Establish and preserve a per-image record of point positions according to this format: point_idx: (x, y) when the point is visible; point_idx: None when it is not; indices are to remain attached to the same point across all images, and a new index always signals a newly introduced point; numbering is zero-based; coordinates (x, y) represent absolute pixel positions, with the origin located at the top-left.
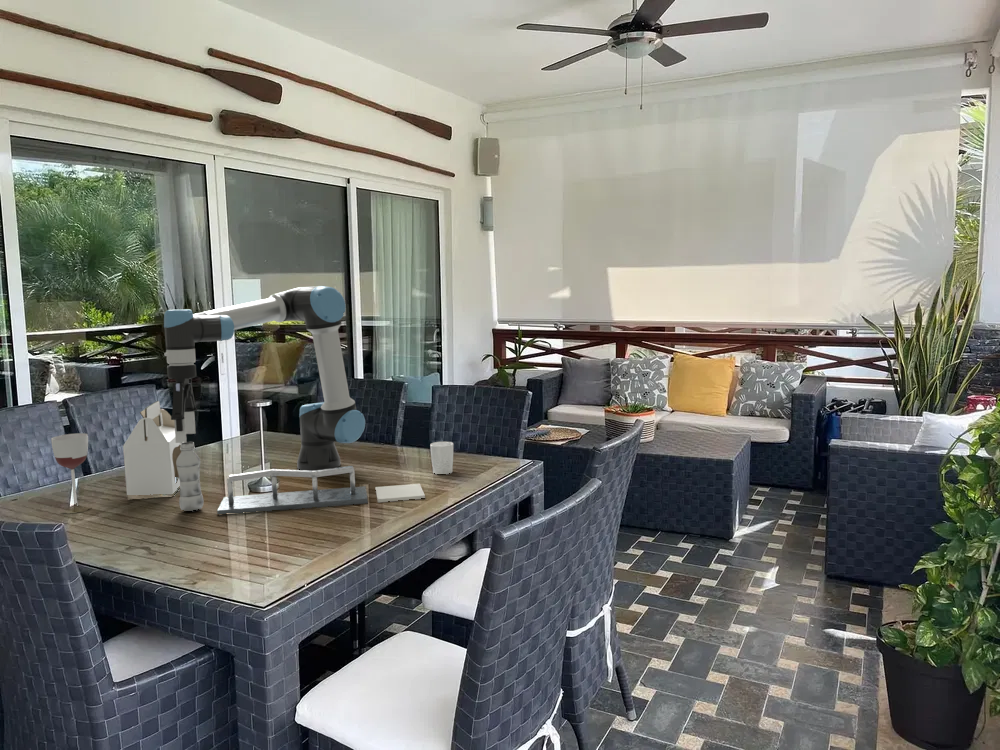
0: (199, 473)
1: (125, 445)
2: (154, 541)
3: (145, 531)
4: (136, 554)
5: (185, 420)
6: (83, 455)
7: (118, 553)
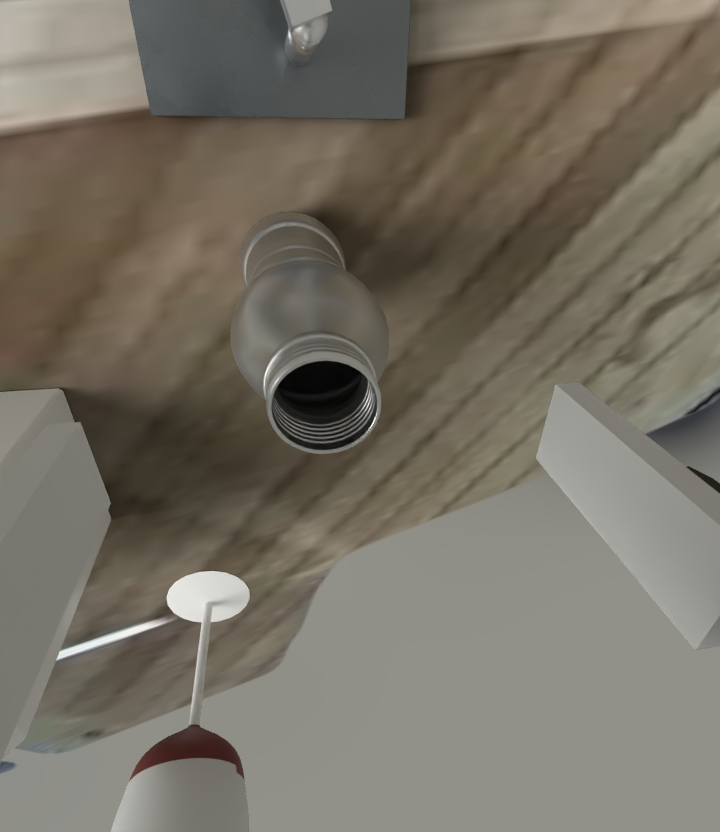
0: (295, 253)
1: (22, 732)
2: (609, 304)
3: (494, 359)
4: (693, 322)
5: (49, 628)
6: (197, 762)
7: (655, 370)
